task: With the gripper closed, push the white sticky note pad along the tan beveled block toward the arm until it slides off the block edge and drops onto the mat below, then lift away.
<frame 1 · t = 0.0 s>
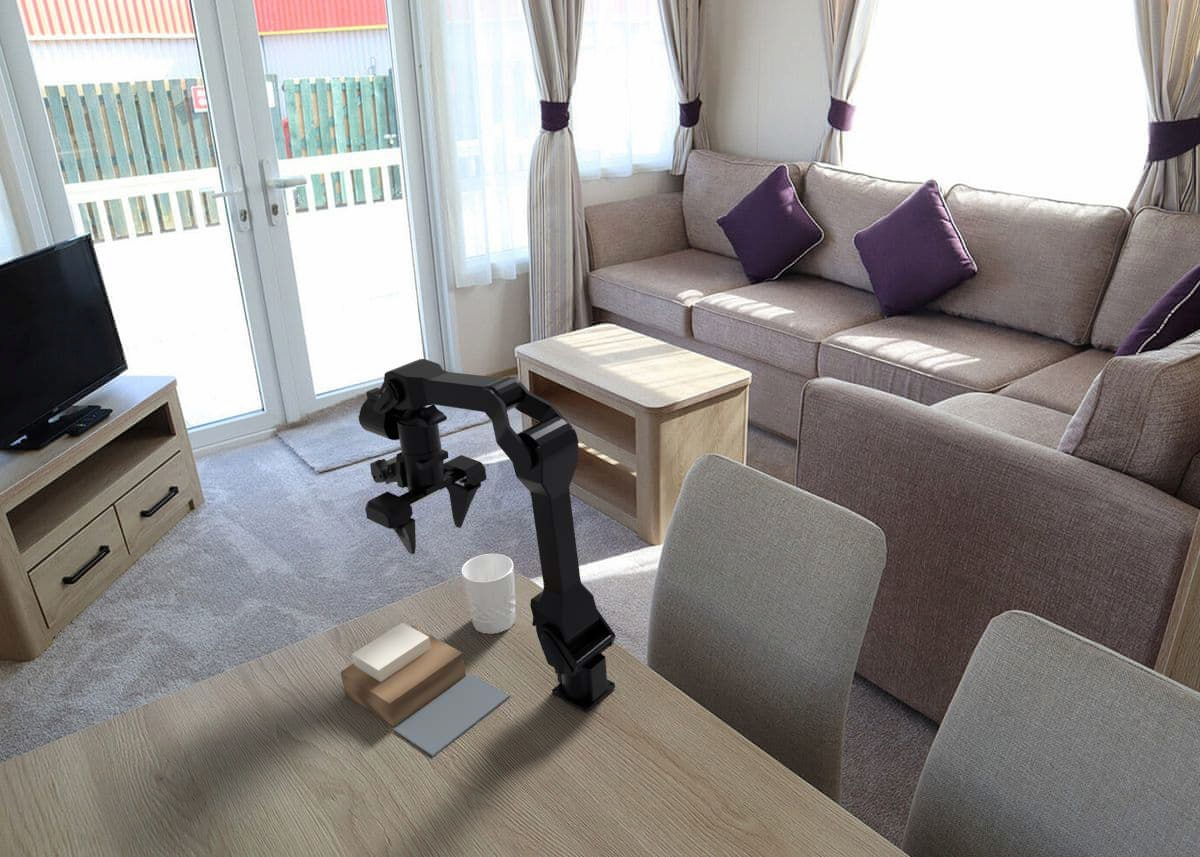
hand: (435, 539, 139), 15 cm above the table, tool pointing down, fingers open, 9 cm apart
tan beveled block: (406, 684, 132), on the table
white cup: (494, 622, 144), on the table
mat: (453, 713, 126), on the table
white sticky note pad: (393, 656, 131), point 4 cm above the table, touching tan beveled block
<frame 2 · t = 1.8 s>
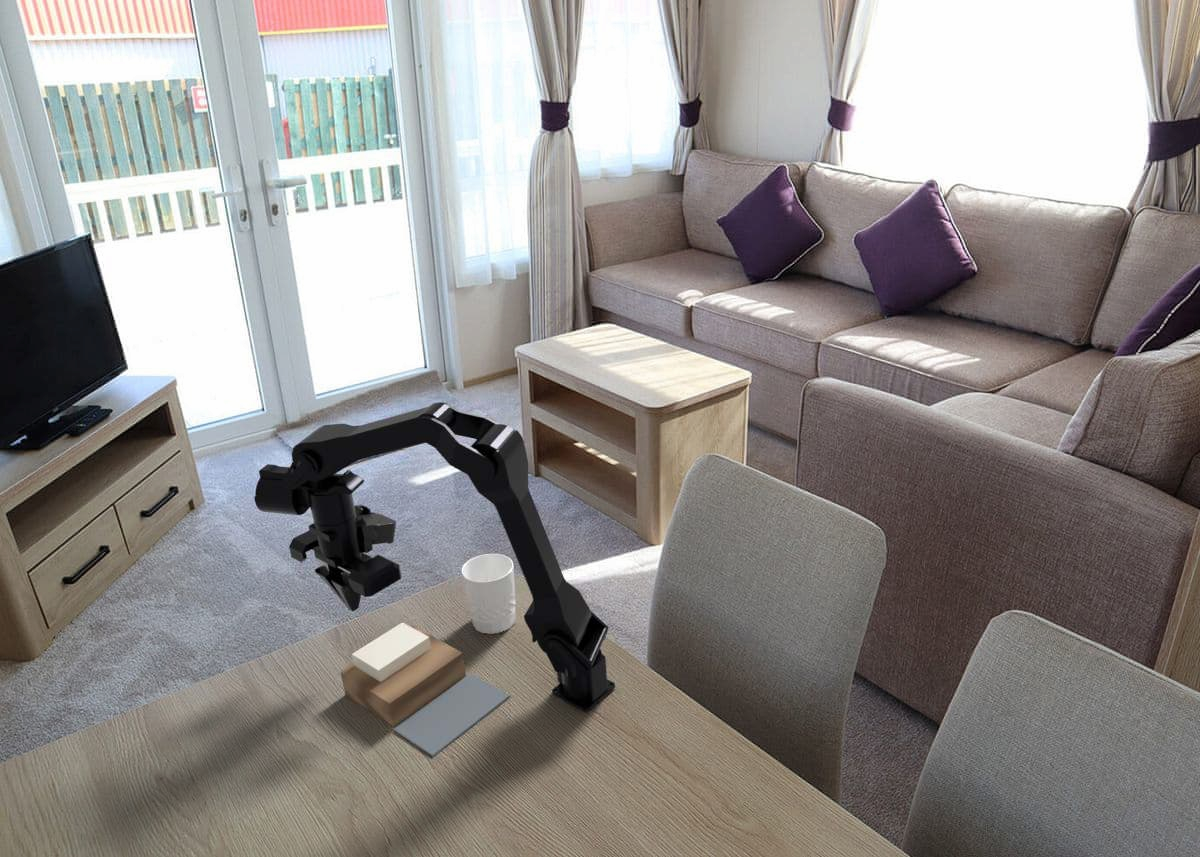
hand: (354, 609, 134), 9 cm above the table, tool pointing down, fingers closed
nothing on the table moved.
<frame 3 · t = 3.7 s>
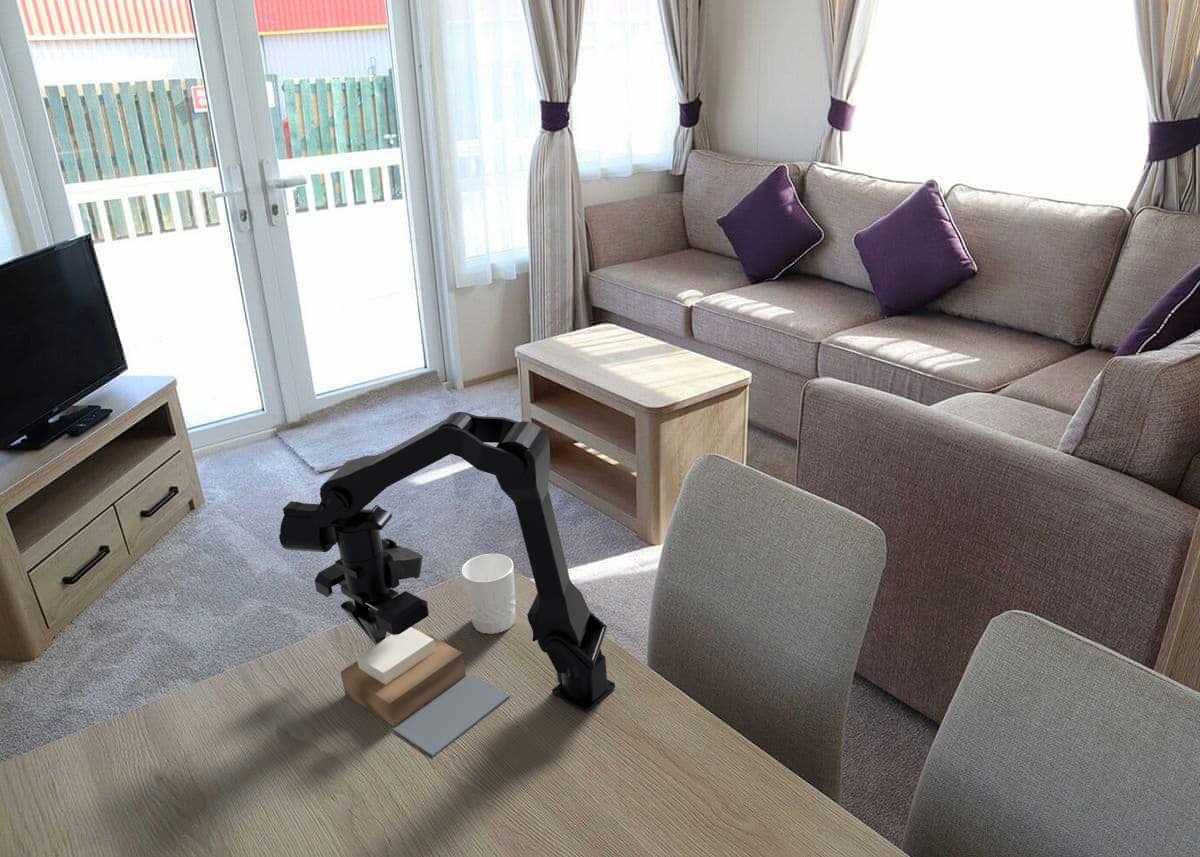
hand: (379, 644, 133), 5 cm above the table, tool pointing down, fingers closed
white sticky note pad: (397, 659, 131), point 4 cm above the table, touching tan beveled block
everything else where it was.
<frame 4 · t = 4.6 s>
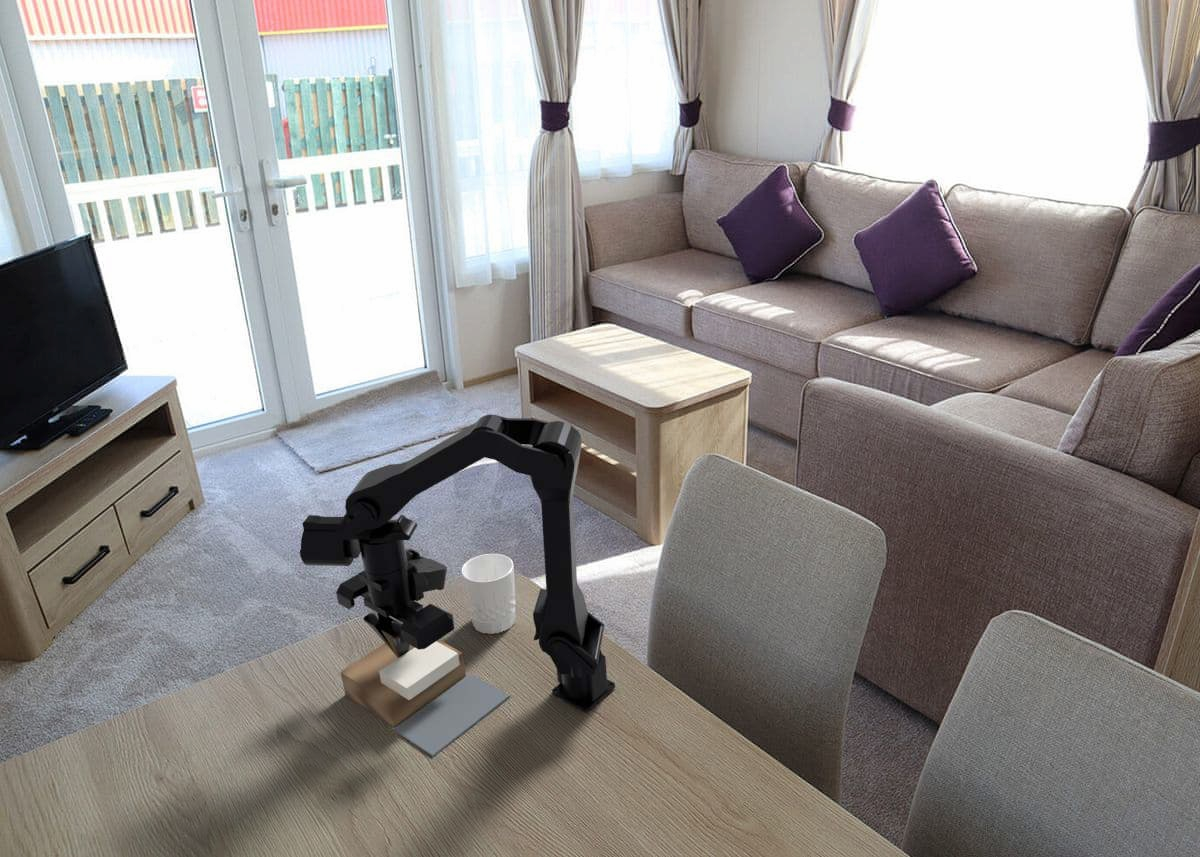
hand: (402, 657, 129), 5 cm above the table, tool pointing down, fingers closed
white sticky note pad: (420, 673, 127), point 4 cm above the table, touching tan beveled block, gripper
everything else where it was.
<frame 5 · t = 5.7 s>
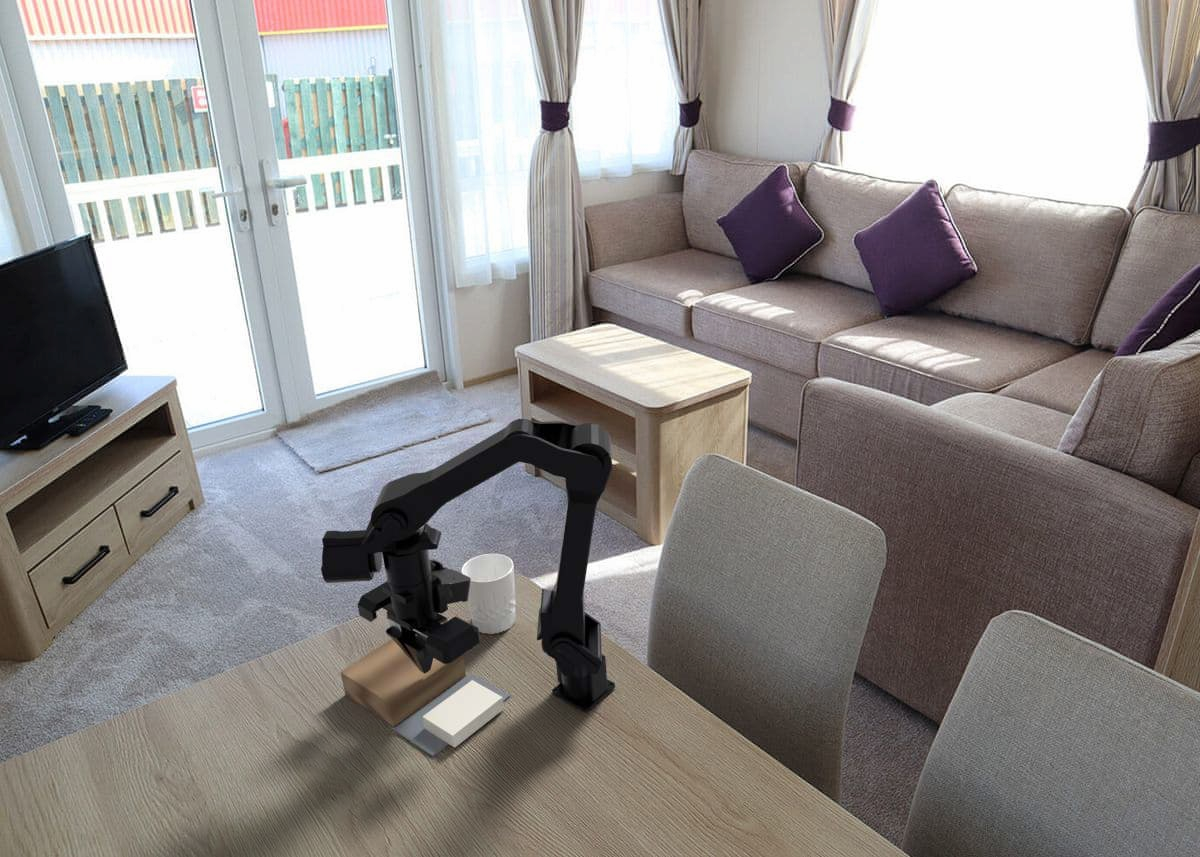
hand: (425, 671, 126), 5 cm above the table, tool pointing down, fingers closed
white sticky note pad: (462, 706, 123), point 2 cm above the table, tilted 180°, touching mat
everything else where it was.
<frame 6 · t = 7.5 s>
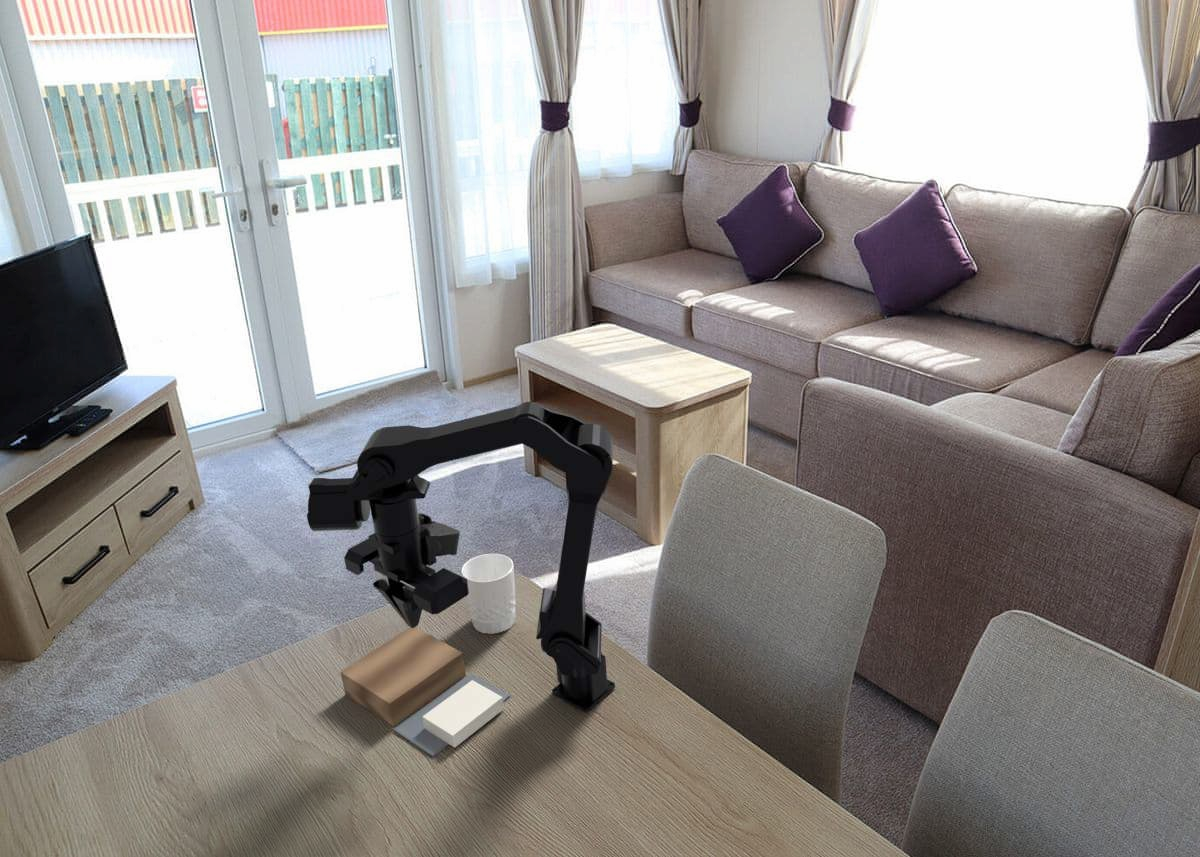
hand: (413, 625, 124), 12 cm above the table, tool pointing down, fingers closed
nothing on the table moved.
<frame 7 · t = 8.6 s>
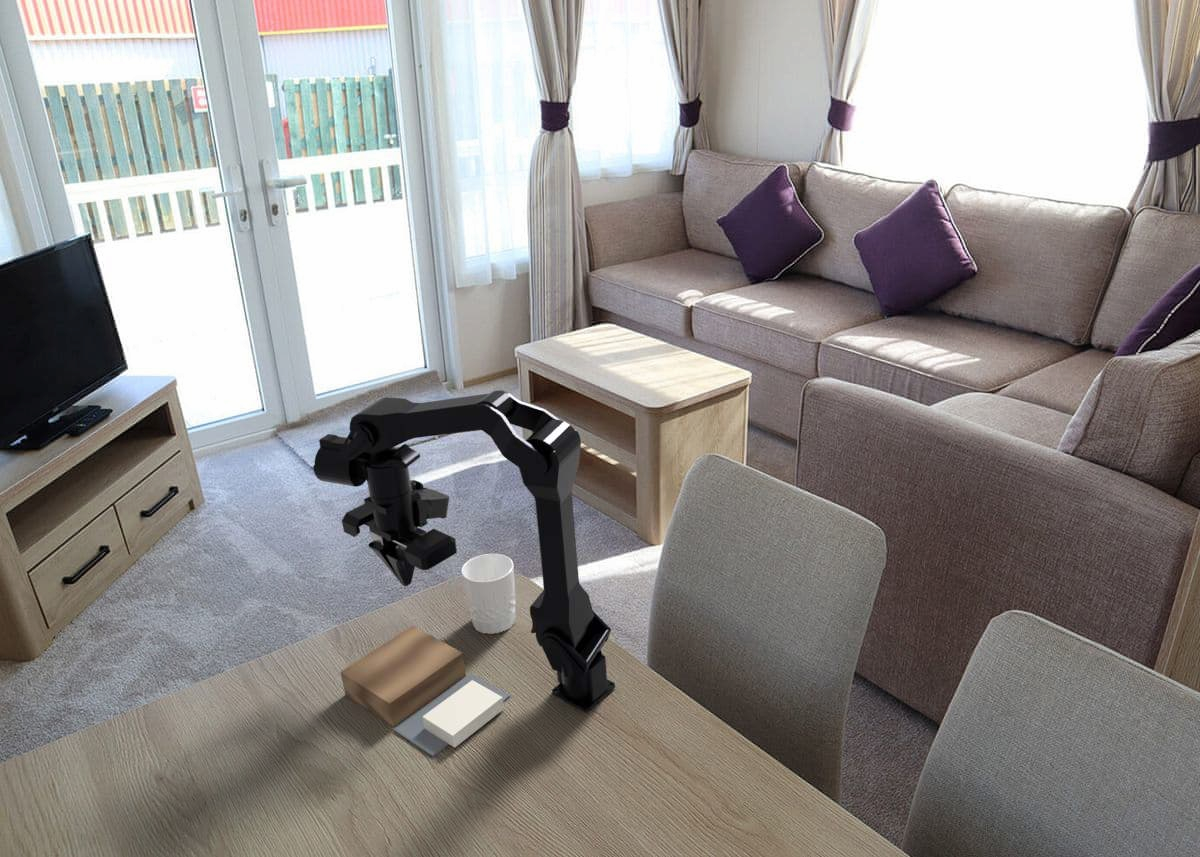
hand: (406, 584, 134), 12 cm above the table, tool pointing down, fingers closed
nothing on the table moved.
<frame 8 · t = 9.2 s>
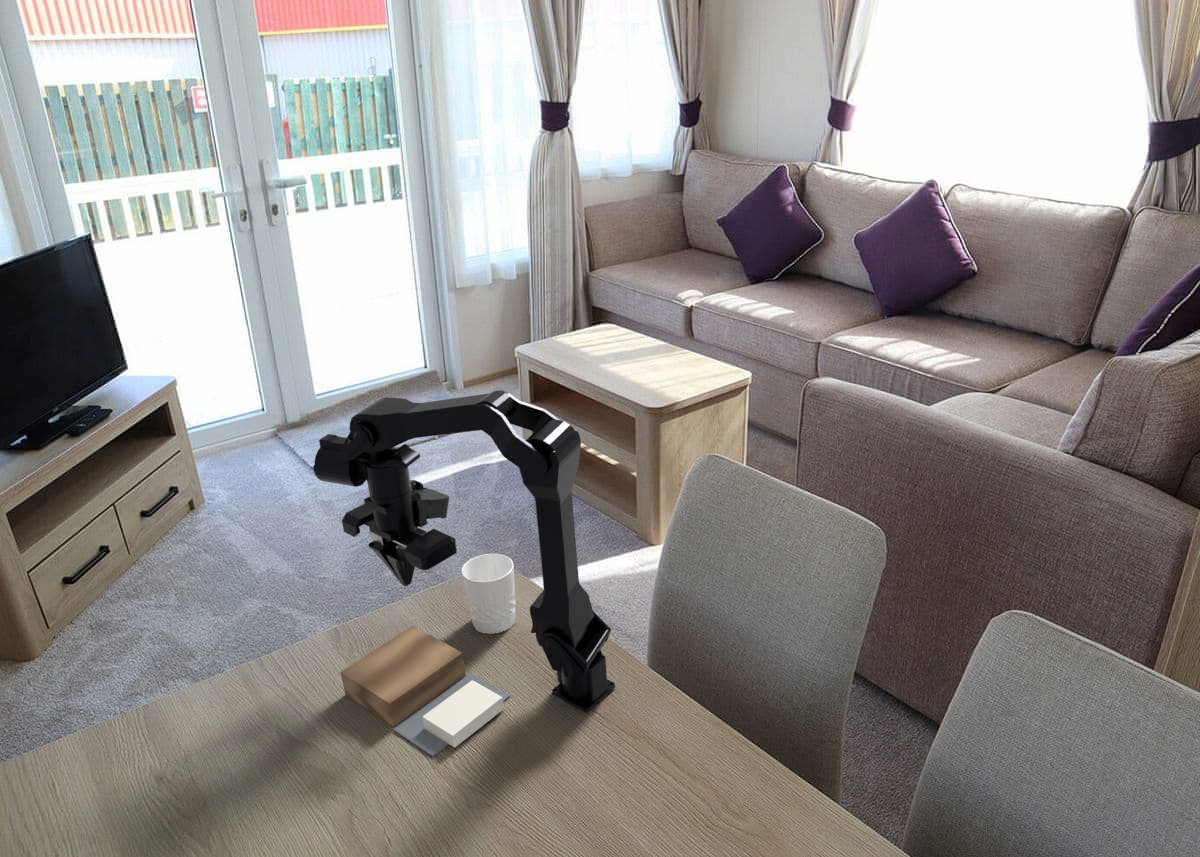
hand: (406, 584, 134), 12 cm above the table, tool pointing down, fingers closed
nothing on the table moved.
at the end: white sticky note pad point 2.3 cm above the table; white sticky note pad inside the target area on the mat (2.3 cm from its centre), point 2.3 cm above the mat's base; white sticky note pad touching mat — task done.
